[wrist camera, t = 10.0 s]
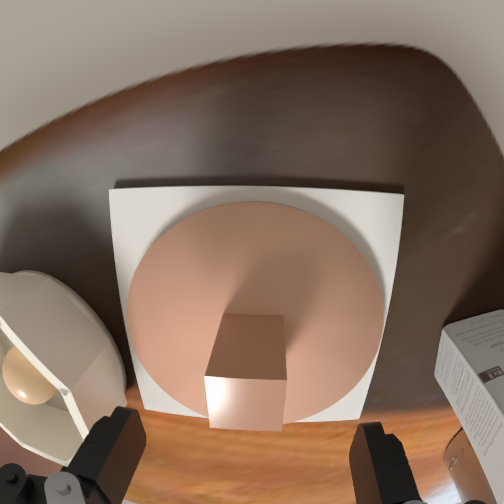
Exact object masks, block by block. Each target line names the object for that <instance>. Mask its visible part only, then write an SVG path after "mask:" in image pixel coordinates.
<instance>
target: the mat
mask: <svg viewBox="0 0 504 504" xmlns="http://www.w3.org/2000/svg"><path fill="white" fill-rule="evenodd" d="M109 201H110V216H111V228H112V239H113V248H114V257H115V265H116V273H117V280H118V287H119V294H120V300H121V306H122V312H123V317H124V323H125V328H126V333H127V338H128V343H129V348H130V352H131V357H132V361H133V365H134V370H135V374H136V378H137V382H138V386H139V390H140V393H141V397H142V401H143V404H144V408H145V409H148V410H153V411H159V412H166V413H172V414H179V415H187V416H195V417H204V418H208V417H206V416H203V415H201V414H198V413H196V412H194V411H192V410H191V409H189V408H187V407H185V406H183V405H182V404H180V403H179V402H177V401H176V400H174V399H173V398H172V397H171V396H169V395H168V394H167V393H166V392H165V391H163V390H162V389H161V388H160V387H159V386H158V385H157V384H156V383H155V381H154V380H153V379H152V378H151V377H150V375H149V374H148V373H147V371H146V370H145V369H144V367H143V365H142V364H141V362H140V360H139V358H138V357H137V355H136V352H135V350H134V347H133V345H132V342H131V339H130V335H129V331H128V324H127V316H126V314H127V298H128V292H129V287H130V284H131V281H132V278H133V275H134V272H135V270H136V268H137V267H138V265H139V263H140V261H141V259H142V258H143V256H144V255H145V254H146V252H147V251H148V250H149V248H150V247H151V246H152V245H153V244H154V243H155V242H156V241H157V240H158V239H159V238H160V237H161V236H162V235H163V234H164V233H165V232H167V231H168V230H169V229H171V228H172V227H174V226H175V225H176V224H178V223H179V222H181V221H182V220H184V219H186V218H187V217H189V216H191V215H193V214H195V213H197V212H199V211H202V210H205V209H208V208H211V207H214V206H217V205H222V204H227V203H233V202H244V201H261V202H273V203H278V204H283V205H287V206H292V207H295V208H298V209H300V210H303V211H306V212H308V213H311V214H313V215H315V216H317V217H319V218H320V219H322V220H324V221H326V222H328V223H329V224H330V225H332V226H333V227H334V228H336V229H337V230H338V231H340V232H341V233H342V234H343V235H344V236H345V237H346V238H347V239H348V240H349V241H350V242H351V243H352V244H353V245H354V246H355V247H356V248H357V249H358V250H359V251H360V253H361V254H362V256H363V257H364V258H365V260H366V261H367V263H368V264H369V266H370V268H371V270H372V272H373V274H374V276H375V278H376V280H377V283H378V286H379V289H380V292H381V296H382V302H383V309H384V325H383V331H384V327H385V323H386V318H387V313H388V308H389V303H390V298H391V293H392V287H393V281H394V275H395V269H396V263H397V256H398V249H399V241H400V233H401V224H402V214H403V203H404V195H403V194H397V193H386V192H374V191H360V190H345V189H328V188H308V187H281V186H161V187H134V188H115V189H109ZM383 331H382V336H383ZM381 340H382V338H381ZM380 344H381V341H380ZM379 348H380V345H379ZM379 348H378V351H377V354H376V356H375V358H374V360H373V362H372V364H371V366H370V368H369V369H368V371H367V372H366V374H365V375H364V377H363V378H362V379H361V380H360V381H359V383H358V384H357V385H356V386H355V387H354V388H353V389H352V390H351V391H350V392H349V393H348V394H347V395H346V396H344V397H343V398H342V399H341V400H339V401H338V402H336V403H335V404H334V405H332V406H330V407H329V408H327V409H325V410H323V411H321V412H320V413H317V414H315V415H313V416H310V417H308V418H305V419H302V420H298V421H295V422H319V421H339V420H353V419H359V417H360V414H361V411H362V408H363V405H364V402H365V399H366V395H367V392H368V389H369V385H370V382H371V378H372V375H373V371H374V368H375V364H376V360H377V356H378V352H379Z"/></svg>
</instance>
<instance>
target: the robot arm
mask: <svg viewBox="0 0 504 504" xmlns="http://www.w3.org/2000/svg"><path fill="white" fill-rule="evenodd" d="M145 446H146V434H145V431H144V428H143V425H142V422H141V419H140V416H139V413H138V411H137V410H136V409H131V408H126V407H122V406H117V407H116V408H115V409H114V411H113V412H112V414H111V416H110V417H108V416H103V417H102V418H101V419H99V420H98V421H96V422H95V423H94V425H93V426H92V428H91V429H90V431H89V434H87V436H86V437H85V439H84V442H82V444H81V445H80V447H79V449H78V450H77V452H76V454H75V455H74V457H73V458H72V460H71V462H70V463H69V465H68V467H67V468H66V470H65V471H64V472H56V473H53V474H52V475H50V476H49V477H43V476H36V475H30V474H27V473H26V472H25V470H24V469H23V468H22V467H21V466H19V465H17V464H14V463H10V464H6V465H4V466H2V467H1V468H0V504H121V503H122V500H123V498H124V496H125V494H126V491H127V489H128V486H129V484H130V482H131V479H132V477H133V475H134V472H135V470H136V468H137V465H138V463H139V461H140V458H141V456H142V454H143V451H144V449H145ZM444 460H445V462H446V465H447V467H448V469H449V471H450V474H451V476H452V479H453V481H454V483H455V486H456V488H457V491H458V493H459V496H460V498H461V501H462V503H463V504H497V502H496V499H495V497H494V494H493V491H492V489H491V487H490V484H489V482H488V480H487V477H486V475H485V473H484V470H483V468H482V466H481V464H480V462H479V459H478V457H477V455H476V453H475V451H474V449H473V447H472V445H471V443H470V441H469V439H468V437H467V435H466V433H465V431H464V429H462V430H461V431H460V432H459V433H458V434H457V435H456V437H455V438H454V439H453V440H452V441H451V443H450V444H449V445H448V447H447V449H446V451H445V454H444ZM349 462H350V468H351V474H352V479H353V485H354V491H355V497H356V503H357V504H427V503H426V502H423V501H422V499H421V498H420V496H419V493H418V490H417V487H416V483H415V480H414V477H413V474H412V471H411V468H410V465H408V463H409V462H408V460H407V457H406V456H405V451H404V448H403V445H402V443H401V442H400V441H399V440H398V438H397V437H396V436H395V435H394V434H386V435H385V433H384V430H383V427H382V424H381V423H380V422H371V423H361V424H359V425H358V427H357V430H356V433H355V436H354V439H353V442H352V445H351V447H350V452H349Z"/></svg>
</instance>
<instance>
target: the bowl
mask: <svg viewBox="0 0 504 504" xmlns="http://www.w3.org/2000/svg"><path fill="white" fill-rule="evenodd" d="M13 346H16V347H17V348H18V349H19V350H20V351H21V353H22V354H23V355H24V356H25V357H26V358H27V359H28V360H29V361H30V362H31V363H32V364H33V365H34V366H35V367H36V369H37V370H38V371H39V372H40V373H41V374H42V375H43V376H44V377H45V378H46V379H47V380H49V381H50V382H51V383H52V384H53V385H54V386H55V387H56V388H57V390H56V392H55V393H54V395H53V396H52V397H51V398H50V399H49V400H48V401H46V402H44V403H42V404H37V405H32V404H27V403H24V402H22V401H20V400H19V399H17V398H16V397H15V396H14V395H13V394H12V393H11V392H10V391H9V389H8V388H7V386H6V384H5V381H4V378H3V373H2V365H3V361H4V358H5V355H6V354H7V352H8V351H9V350H10V349H11V348H12V347H13ZM126 385H127V381H126V371H125V366H124V363H123V359H122V356H121V354H120V351H119V349H118V347H117V345H116V343H115V341H114V339H113V337H112V335H111V334H110V332H109V330H108V329H107V327H106V326H105V324H104V323H103V322H102V320H101V319H100V318H99V316H98V315H97V314H96V312H95V311H94V310H93V309H92V308H91V307H90V306H89V305H88V303H87V302H86V301H85V300H83V299H82V298H81V297H80V296H79V295H78V294H77V293H76V292H75V291H74V290H72V289H71V288H70V287H69V286H67V285H66V284H64V283H63V282H61V281H60V280H58V279H56V278H54V277H52V276H50V275H48V274H46V273H43V272H40V271H35V270H21V271H17V272H15V273H13V274H11V273H2V272H0V426H1V427H2V428H3V429H4V430H5V431H6V432H7V433H8V434H9V435H10V436H11V437H12V438H13V439H14V440H16V441H17V442H18V443H19V444H20V445H21V446H22V447H24V448H26V449H28V450H30V451H32V452H34V453H36V454H38V455H41V456H43V457H45V458H47V459H49V460H52V461H54V462H56V463H59V464H61V465H63V466H66V467H68V465H69V463H70V462H71V460H72V458H73V457H74V455H75V454H76V452H77V450H78V449H79V447H80V445H81V444H82V442H84V439H85V437H86V436H87V434H89V431H90V429H91V428H92V426H93V425H94V423H95V422H96V421H98V420H99V419H101V418H102V417H103V416H108V417H110V416H111V414H112V412H113V411H114V409H115V408H116V407H117V406H122V407H126V405H127V400H126V397H125V392H126Z"/></svg>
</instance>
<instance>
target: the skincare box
mask: <svg viewBox="0 0 504 504" xmlns="http://www.w3.org/2000/svg"><path fill="white" fill-rule="evenodd" d="M434 376H435V378H436V379H437V381H438V383H439V385H440V386H441V388H442V390H443V391H444V393H445V395H446V397H447V398H448V400H449V402H450V404H451V406H452V408H453V410H454V412H455V414H456V415H457V417H458V419H459V421H460V423H461V425H462V427H463V429H464V431H465V433H466V435H467V437H468V439H469V441H470V443H471V445H472V447H473V449H474V451H475V453H476V455H477V457H478V459H479V462H480V464H481V466H482V468H483V470H484V473H485V475H486V477H487V480H488V482H489V484H490V487H491V489H492V491H493V494H494V497H495V499H496V502H497V504H504V310H502V309H501V310H497V311H493V312H489V313H485V314H482V315H478V316H475V317H471V318H468V319H465V320H461V321H458V322H454V323H451V324H448V325H446V326H445V327H443V329H442V333H441V338H440V343H439V349H438V354H437V360H436V365H435V371H434Z"/></svg>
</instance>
